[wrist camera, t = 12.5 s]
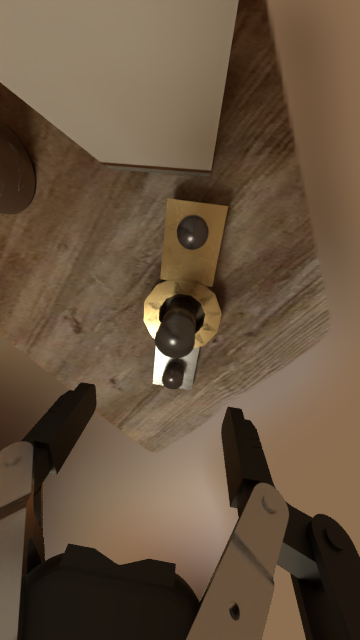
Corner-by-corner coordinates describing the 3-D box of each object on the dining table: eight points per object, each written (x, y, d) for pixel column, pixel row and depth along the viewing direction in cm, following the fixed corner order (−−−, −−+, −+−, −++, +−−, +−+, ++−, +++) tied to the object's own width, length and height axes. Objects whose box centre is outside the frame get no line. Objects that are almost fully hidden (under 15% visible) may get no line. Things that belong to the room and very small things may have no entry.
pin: (167, 321, 28) (153, 354, 20) (170, 295, 26) (156, 319, 18) (193, 325, 28) (191, 361, 19) (198, 299, 26) (197, 326, 18)
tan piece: (143, 376, 32) (135, 396, 28) (155, 200, 22) (145, 191, 18) (202, 386, 32) (202, 407, 28) (241, 211, 22) (250, 205, 18)
